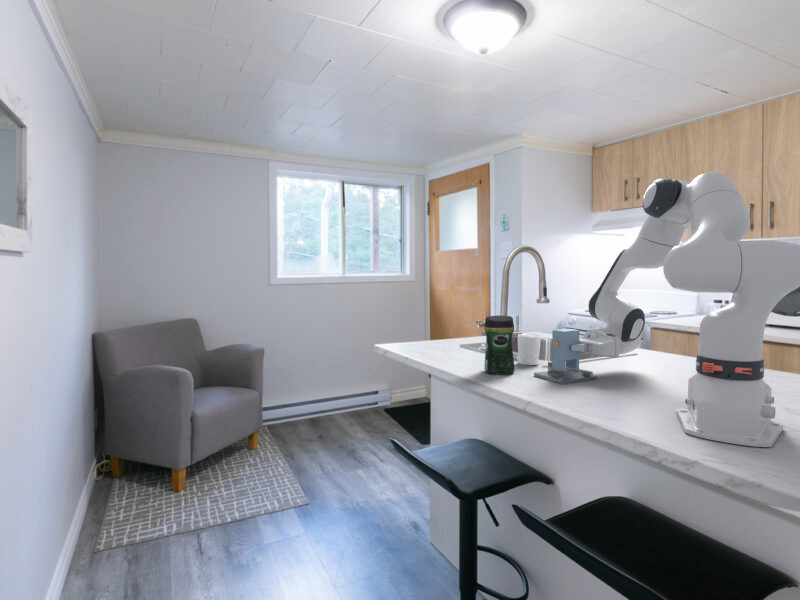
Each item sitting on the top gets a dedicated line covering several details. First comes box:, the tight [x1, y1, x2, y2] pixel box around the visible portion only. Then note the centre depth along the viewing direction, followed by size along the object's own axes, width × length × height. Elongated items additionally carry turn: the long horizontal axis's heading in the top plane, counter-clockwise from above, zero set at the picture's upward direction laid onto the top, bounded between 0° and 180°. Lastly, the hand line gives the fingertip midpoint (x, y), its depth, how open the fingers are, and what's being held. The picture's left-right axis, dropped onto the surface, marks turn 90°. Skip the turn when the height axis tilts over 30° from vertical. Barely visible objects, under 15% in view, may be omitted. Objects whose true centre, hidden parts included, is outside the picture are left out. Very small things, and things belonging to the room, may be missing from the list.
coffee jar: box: [483, 314, 516, 375], centre depth 151 cm, size 10×8×19 cm
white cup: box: [517, 333, 542, 366], centre depth 165 cm, size 8×8×10 cm
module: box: [551, 328, 580, 371], centre depth 143 cm, size 4×7×12 cm, turn 114°
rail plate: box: [533, 361, 598, 385], centre depth 143 cm, size 12×14×4 cm
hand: (563, 346), depth 143 cm, fingers closed on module, 4 cm apart
